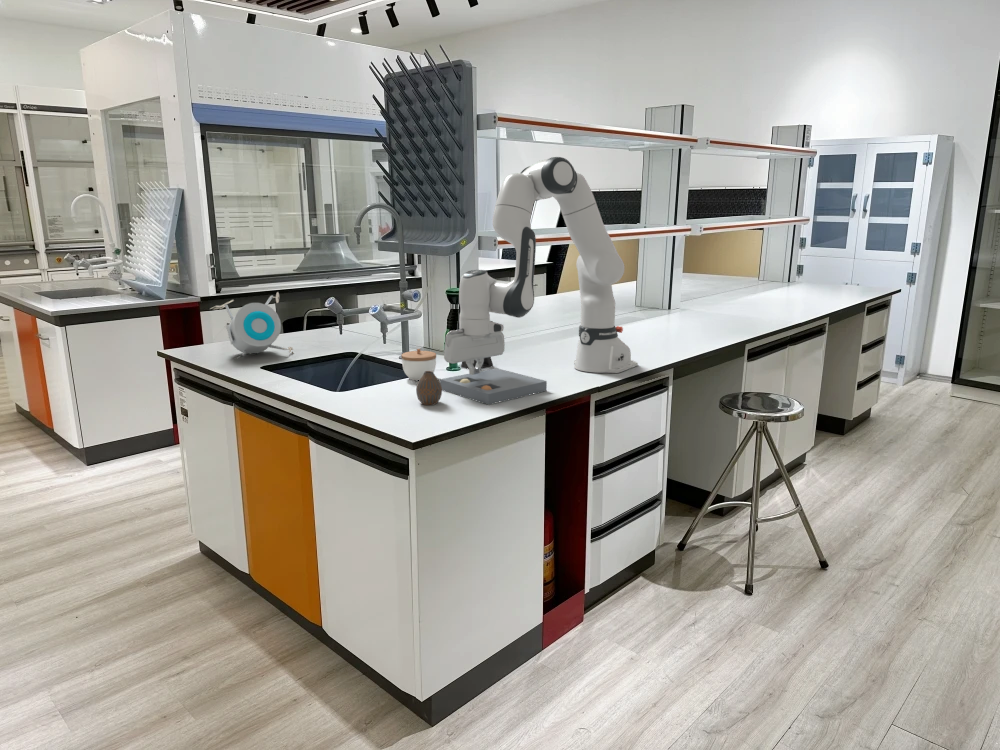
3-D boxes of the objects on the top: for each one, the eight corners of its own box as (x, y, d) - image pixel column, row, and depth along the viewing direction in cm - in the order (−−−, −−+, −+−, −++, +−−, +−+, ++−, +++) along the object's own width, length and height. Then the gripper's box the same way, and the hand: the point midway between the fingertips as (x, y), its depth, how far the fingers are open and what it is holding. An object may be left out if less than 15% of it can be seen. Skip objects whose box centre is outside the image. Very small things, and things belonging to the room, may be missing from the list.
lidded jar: (431, 373, 223) (430, 344, 221) (441, 380, 213) (440, 350, 211) (398, 376, 219) (397, 347, 217) (407, 384, 210) (406, 353, 207)
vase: (443, 399, 192) (443, 369, 190) (440, 406, 186) (439, 375, 183) (419, 399, 193) (418, 368, 191) (414, 406, 186) (413, 374, 184)
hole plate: (497, 377, 217) (496, 368, 217) (546, 391, 201) (546, 381, 201) (440, 389, 203) (440, 379, 203) (488, 404, 187) (488, 394, 187)
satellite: (271, 301, 264) (202, 312, 251) (284, 286, 248) (211, 296, 234) (287, 358, 263) (219, 372, 250) (301, 346, 247) (229, 360, 233)
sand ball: (467, 383, 205) (462, 375, 202) (475, 385, 202) (469, 377, 200) (460, 391, 203) (454, 384, 201) (468, 394, 201) (462, 386, 199)
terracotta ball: (488, 387, 197) (480, 382, 194) (496, 389, 194) (488, 384, 192) (483, 398, 196) (475, 393, 194) (491, 400, 194) (483, 396, 191)
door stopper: (481, 363, 237) (481, 328, 235) (493, 366, 233) (493, 331, 230) (461, 367, 232) (460, 331, 229) (472, 370, 227) (471, 334, 224)
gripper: (452, 332, 191) (453, 381, 194) (507, 324, 204) (507, 370, 207) (439, 329, 196) (439, 377, 199) (494, 322, 209) (493, 367, 212)
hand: (474, 373), depth 203 cm, fingers closed
